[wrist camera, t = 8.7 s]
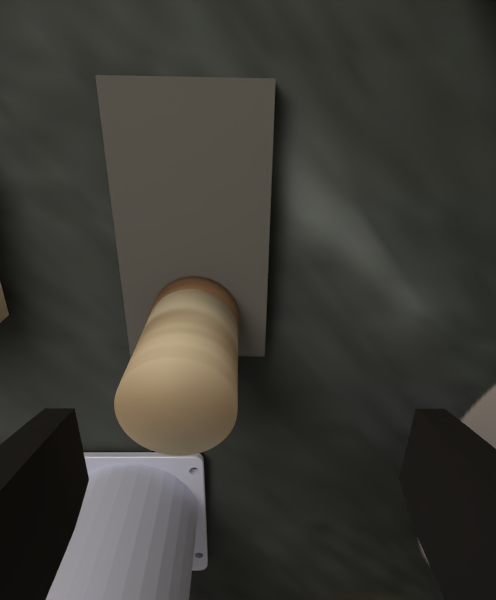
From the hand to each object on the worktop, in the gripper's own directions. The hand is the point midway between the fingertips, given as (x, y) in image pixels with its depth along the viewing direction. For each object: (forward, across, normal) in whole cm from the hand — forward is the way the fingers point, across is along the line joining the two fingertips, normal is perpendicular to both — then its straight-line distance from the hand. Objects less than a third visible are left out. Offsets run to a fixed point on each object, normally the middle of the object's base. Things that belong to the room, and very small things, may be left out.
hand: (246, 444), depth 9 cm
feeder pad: (+10, +2, -2) cm, 10 cm away
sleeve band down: (+9, +2, +2) cm, 9 cm away
